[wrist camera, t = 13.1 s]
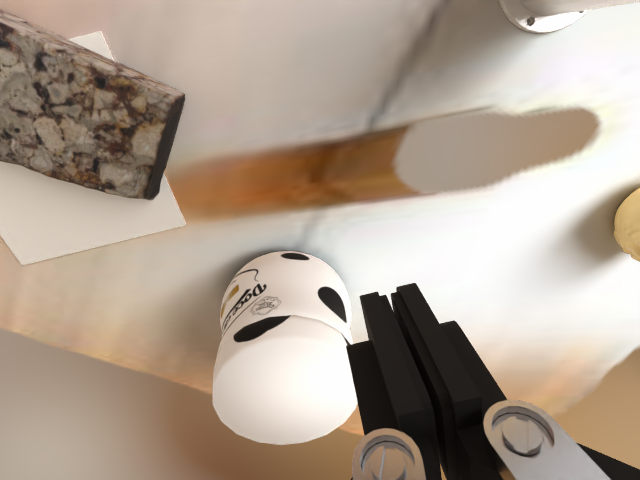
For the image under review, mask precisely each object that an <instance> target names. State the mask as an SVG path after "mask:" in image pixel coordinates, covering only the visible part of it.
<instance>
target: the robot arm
mask: <svg viewBox="0 0 640 480" xmlns="http://www.w3.org/2000/svg"><path fill="white" fill-rule="evenodd" d="M636 2H640V0H499V3H500V6H501V8H502V10H503V12H504V14H505V15H506V17H507V18H508V19H509V20H510V21H511V22H512V23H513V24H514V25H516V26H517V27H519V28H520V29H522V30H525V31H528V32H532V33H548V32H553V31H557V30H560V29H562V28H565V27H567V26H569V25H571V24H572V23H574V22H575V21H577V20H578V19H580V18H581V17H582V16H583V15H584V14H586V13H587V12H588V11H589V10H591V9H598V8H604V7H611V6H617V5H623V4H630V3H636ZM528 19H529V20H530V22H529V24H528V25H527V20H528ZM396 290H397V292H395V293H391V299H392V305H393V310H392V308H391V305H390V303H389V301H388V298H387V296H386V295H383V296H379V294H378V292H374V293H370V294H366V295H361V296H360V300H361V305H362V310H363V314H364V319H365V324H366V328H367V333H368V338H369V341H364V342H360V343H356V344H352V345H347V346H346V349H347V354H348V359H349V364H350V368H351V373H352V378H353V383H354V387H355V392H356V397H357V401H358V406H359V411H360V416H361V420H362V425H363V430H364V434H365V436H364V437H363V438H362V439H361V441H360V442H359V443H358V445H357V447H356V449H355V451H354V456H353V463H352V466H353V477H352V479H351V480H442V478H441V469H440V464H441V466H442V469H443V472H444V474H445V477H446V479H447V480H640V470H639V469H637V468H635V467H632V466H630V465H628V464H625V463H623V462H621V461H618V460H616V459H613V458H611V457H609V456H607V455H604V454H602V453H599V452H597V451H595V450H592V449H590V448H588V447H585V446H583V445H581V444H578V443H576V442H575V441H574V440H573V439H572V438H571V437H570V436H569V435H568V434H567V433H566V432H565V431H564V430H563V429H562V427H561V426H560V425H559V424H558V423H557V422H556V421H555V420H554V419H553V418H552V417H551V416H550V415H548V414H547V413H546V412H545V411H544V410H542V409H540V408H539V407H537V406H535V405H533V404H531V403H527V402H524V401H520V400H507V398H506V397H505V395H504V394H503V392H502V391H501V389H500V388H499V386H498V385H497V383H496V382H495V380H494V378H493V377H492V375H491V374H490V372H489V371H488V369H487V368H486V366H485V365H484V363H483V362H482V360H481V358H480V357H479V355H478V354H477V352H476V351H475V349H474V348H473V346H472V345H471V343H470V342H469V340H468V338H467V337H466V335H465V334H464V332H463V331H462V329H461V328H460V326H459V325H458V324H457V322H455V321H450V322H446V323H441V324H439V322H438V321H437V319H436V317H435V315H434V314H433V312H432V310H431V309H430V307H429V305H428V303H427V302H426V300H425V298H424V297H423V295H422V293H421V291H420V290H419V288H418V286H417V285H416V283H412V284H408V285H404V286H399V287H397V289H396ZM393 311H394V312H393Z"/></svg>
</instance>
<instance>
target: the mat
mask: <svg viewBox="0 0 640 480" xmlns="http://www.w3.org/2000/svg"><path fill="white" fill-rule="evenodd" d="M68 40H70V41H72V42H74V43H76V44H78V45H80V46H82V47H85V48H87V49H89V50H91V51H93V52H95V53H98V54H100V55H102V56H104V57H106V58H109V59H111V60H113V61H114V59H113V56H112V54H111V52H110V50H109V47H108V45H107V43H106V41H105V38H104V36H103V34H102V32H101V31H98V32H94V33H90V34H86V35H82V36H79V37H75V38H71V39H68ZM186 225H187V224H186V221H185V219H184V217H183V215H182V212H181V210H180V208H179V206H178V203H177V201H176V199H175V197H174V194H173V192H172V190H171V188H170V185H169V183H168V181H167V179H166V176H165V174H163V177H162V180H161V184H160V192H159V194H158V195H157V196H156V197H155V198H154V200H147V199H135V198H126V197H121V196H118V195H112V194H107V193H104V192H101V191H98V190H94V189H89V188H85V187H83V186H80V185H77V184H74V183H69V182H65V181H62V180H57V179H55V178H51V177H48V176H45V175H43V174H41V173H38V172H35V171H32V170H29V169H27V168H25V167H23V166H21V165H16V164H11V163H6V162H1V161H0V236H1V237H2V239H3V240H4V241H5V243H6V244H7V245H8V247H9V248H10V250H11V251H12V252H13V254H14V255H15V256H16V258H17V259H18V261H19V262H20V263H21V265H22V266H23V265H27V264H31V263H35V262H39V261H43V260H47V259H51V258H55V257H59V256H63V255H68V254H72V253H76V252H80V251H84V250H88V249H92V248H96V247H100V246H104V245H108V244H112V243H117V242H121V241H125V240H129V239H133V238H137V237H141V236H145V235H149V234H153V233H157V232H161V231H166V230H170V229H174V228H178V227H182V226H186Z"/></svg>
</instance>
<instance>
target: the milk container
mask: <svg viewBox="0 0 640 480" xmlns="http://www.w3.org/2000/svg"><path fill="white" fill-rule="evenodd" d="M351 318H352V311H351V303H350V299H349V295H348V292H347V290H346V288H345V286H344V284H343V282H342V280H341V279H340V277H339V276H338V275H337V273H336V272H335V271H334V270H333V269H332V268H331V267H330V266H329V265H328V264H327V263H325V262H324V261H322V260H320V259H319V258H316V257H314V256H312V255H309V254H305V253H301V252H296V251H280V252H272V253H269V254H265V255H263V256H260V257H258V258H256V259H254V260H252V261H250V262H249V263H247V264H246V265H245V266H243V267H242V268H241V269H240V270H239V271H238V272H237V274H236V275H235V276H234V278H233V279H232V280H231V282H230V284H229V286H228V287H227V289H226V292H225V294H224V297H223V300H222V304H221V310H220V325H221V331H222V338H221V342H220V345H219V349H218V353H217V357H216V362H215V366H214V372H213V406H214V408H215V410H216V412H217V414H218V416H219V418H220V419H221V422H223V423H224V424H225V425H226V426H228V427H229V428H230V429H232V430H233V431H234V432H235V433H236V434H238V435H241V436H243V437H246V438H249V439H251V440H254V441H257V442H262V443H270V444H278V445H283V444H293V443H302V442H307V441H310V440H313V439H316V438H318V437H321V436H324V435H327V434H328V433H330V432H331V431H333V430H334V429H336V428H337V427H339V426H340V425H342V424H343V423H344V422H345V421H346V420H347V419H348V417H349V416H350V415H351V414H352V412H353V411H354V410H355V409H356V406H357V402H358V401H357V397H356V392H355V387H354V383H353V378H352V373H351V368H350V364H349V359H348V354H347V349H346V346H347V345H352V344H353V340H352V337H351V334H350V327H351Z"/></svg>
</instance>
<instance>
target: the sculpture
mask: <svg viewBox="0 0 640 480" xmlns="http://www.w3.org/2000/svg"><path fill="white" fill-rule="evenodd" d="M614 225H615V231H614V236H615V238H616V241H617V242H618V244H619V245H621V247H622V250H623V252H625V253H627V254H630V255H631V257H632V258H633V259H635V260H637V261H640V188H638V189H637V190H635V191H634V192H633V193H631V194H630V195H629V196H628V197H627V198H626V199H625V200H624V201H623V202H622V204H621V205H620V206H619V208H618V210H617V212H616V215H615V221H614Z"/></svg>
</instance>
